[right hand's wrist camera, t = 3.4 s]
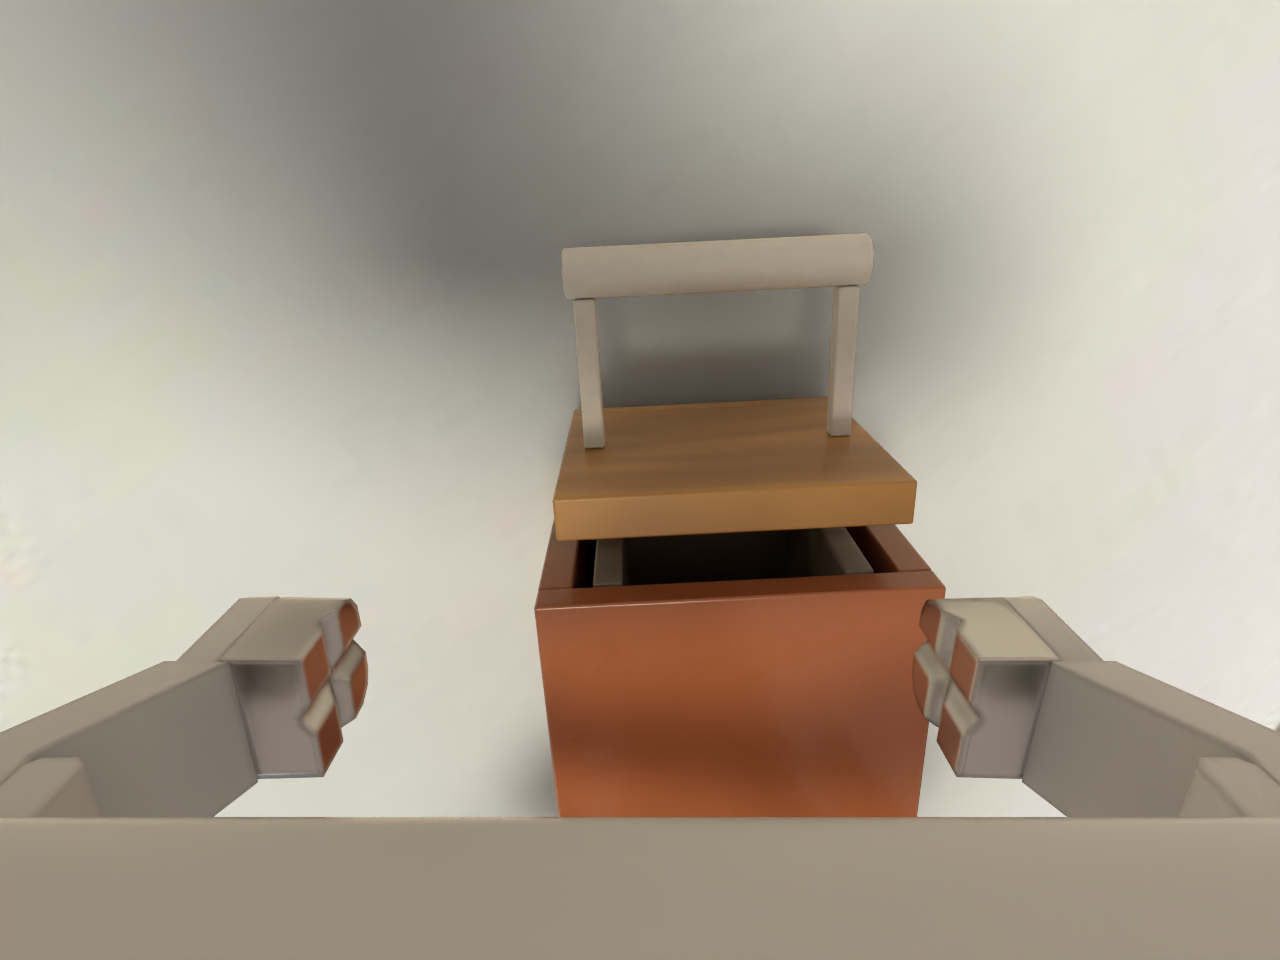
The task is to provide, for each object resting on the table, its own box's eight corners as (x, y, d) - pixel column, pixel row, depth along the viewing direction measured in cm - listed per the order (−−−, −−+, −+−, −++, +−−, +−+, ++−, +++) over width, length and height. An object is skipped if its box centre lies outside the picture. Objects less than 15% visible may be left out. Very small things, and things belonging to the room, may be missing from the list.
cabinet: (564, 466, 27) (533, 607, 18) (837, 452, 27) (947, 586, 18) (600, 861, 35) (591, 1105, 25) (814, 851, 35) (883, 1091, 25)
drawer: (559, 240, 23) (528, 261, 16) (840, 225, 23) (943, 240, 16) (608, 818, 33) (602, 1007, 25) (809, 808, 33) (864, 994, 25)
